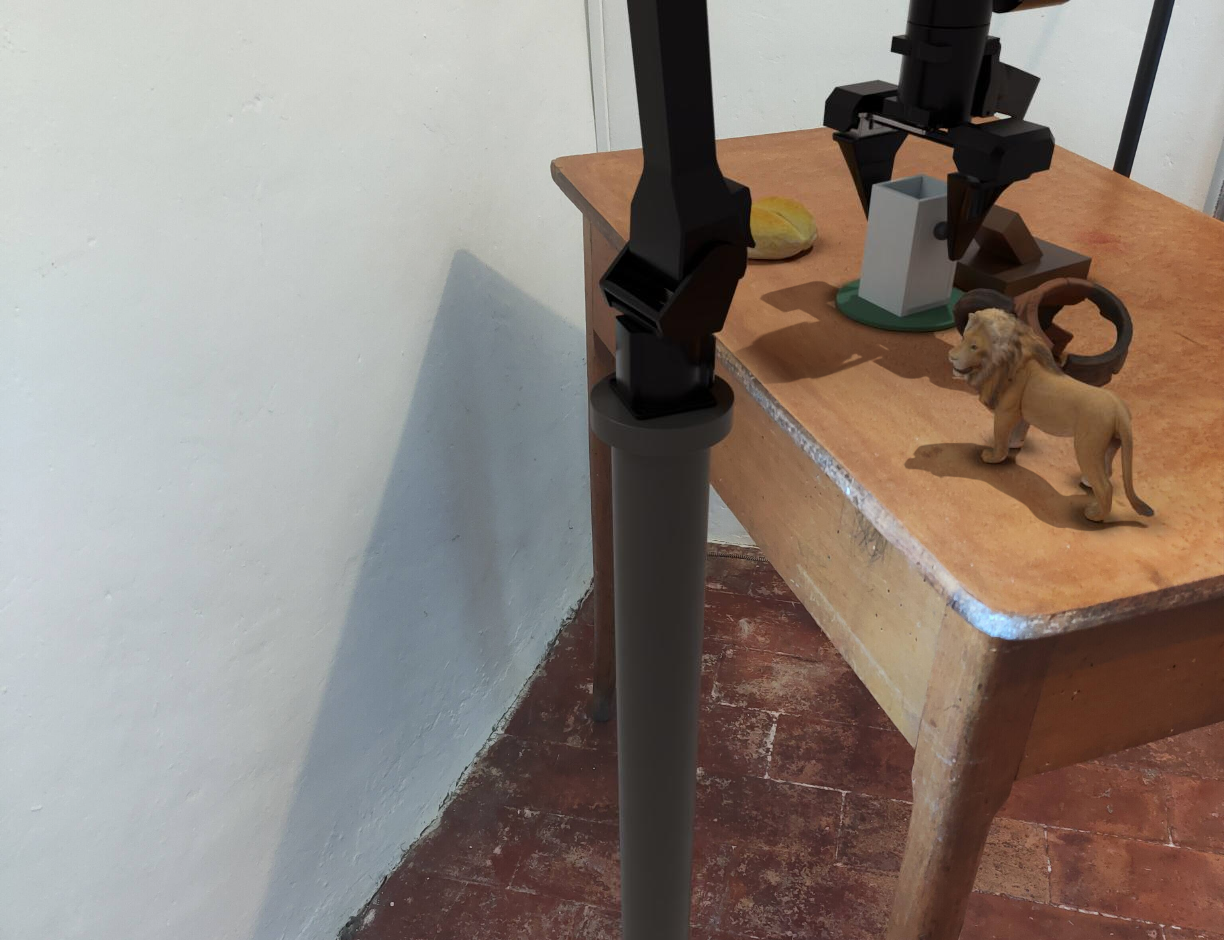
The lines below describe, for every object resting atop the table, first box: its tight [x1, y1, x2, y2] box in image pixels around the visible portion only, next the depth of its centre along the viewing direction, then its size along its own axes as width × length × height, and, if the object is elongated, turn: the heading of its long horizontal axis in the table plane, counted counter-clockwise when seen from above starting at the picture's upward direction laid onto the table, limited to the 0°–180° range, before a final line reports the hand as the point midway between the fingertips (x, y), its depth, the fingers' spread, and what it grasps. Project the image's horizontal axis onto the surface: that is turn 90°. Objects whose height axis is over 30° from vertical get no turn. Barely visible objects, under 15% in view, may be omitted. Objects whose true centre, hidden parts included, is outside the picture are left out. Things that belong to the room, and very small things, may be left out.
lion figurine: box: [948, 308, 1155, 522], centre depth 63 cm, size 15×5×9 cm, turn 39°
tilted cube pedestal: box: [953, 203, 1093, 298], centre depth 90 cm, size 10×9×7 cm
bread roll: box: [747, 195, 819, 260], centre depth 98 cm, size 8×9×4 cm
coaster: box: [835, 278, 966, 333], centre depth 88 cm, size 11×11×1 cm
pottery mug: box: [952, 278, 1134, 388], centre depth 75 cm, size 12×10×8 cm
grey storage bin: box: [858, 173, 957, 317], centre depth 85 cm, size 10×7×10 cm
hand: (913, 242), depth 84 cm, fingers open, 9 cm apart
